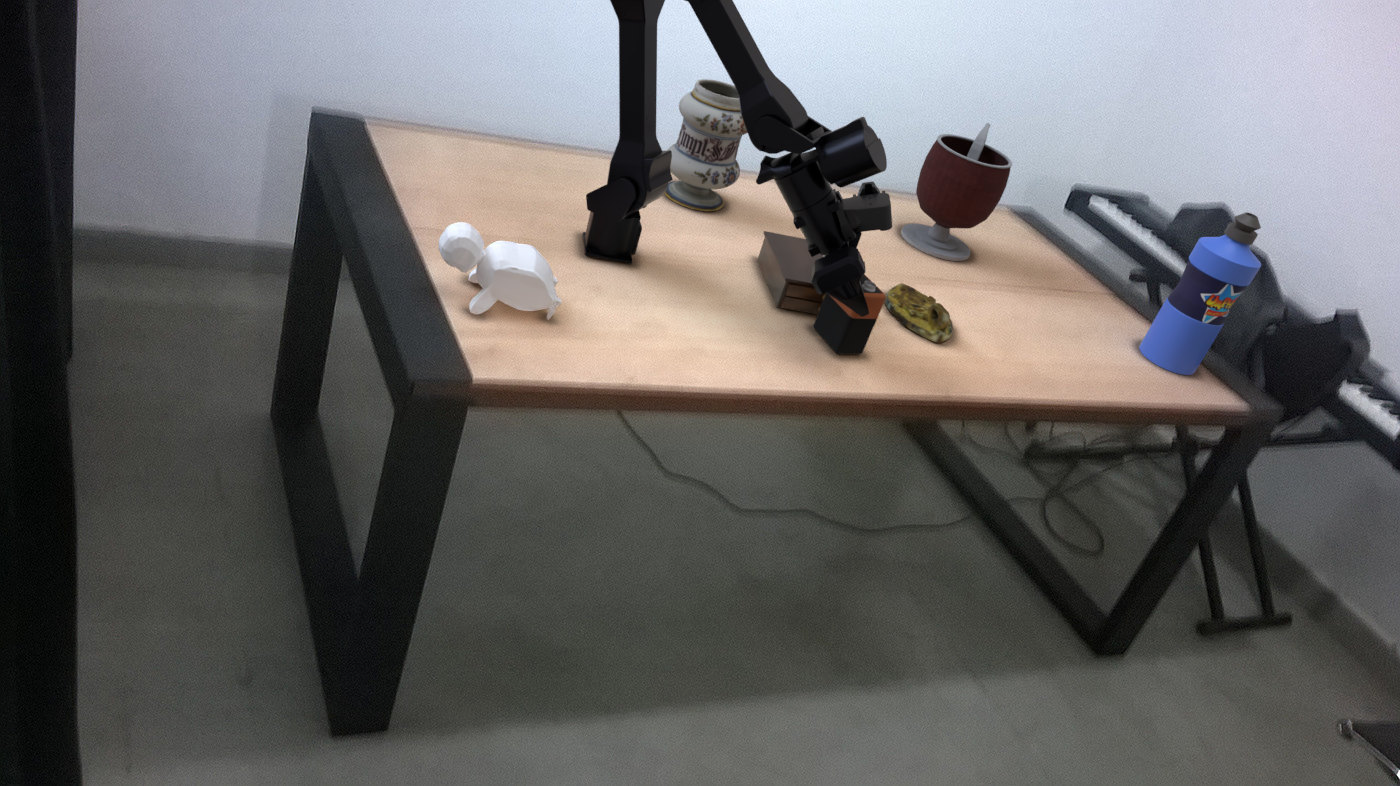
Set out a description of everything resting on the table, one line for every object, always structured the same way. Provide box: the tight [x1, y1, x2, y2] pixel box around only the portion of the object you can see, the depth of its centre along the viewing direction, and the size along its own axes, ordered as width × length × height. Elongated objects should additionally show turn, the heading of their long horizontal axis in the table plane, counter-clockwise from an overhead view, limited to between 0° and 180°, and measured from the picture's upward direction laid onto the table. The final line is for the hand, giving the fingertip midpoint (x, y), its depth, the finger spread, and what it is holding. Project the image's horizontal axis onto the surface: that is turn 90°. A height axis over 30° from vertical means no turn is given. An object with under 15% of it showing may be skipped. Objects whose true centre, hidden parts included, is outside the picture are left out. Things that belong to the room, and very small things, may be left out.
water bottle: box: [1138, 212, 1262, 376], centre depth 161 cm, size 9×9×25 cm
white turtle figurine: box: [438, 221, 562, 321], centre depth 123 cm, size 9×8×15 cm
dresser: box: [756, 230, 826, 315], centre depth 150 cm, size 13×16×5 cm
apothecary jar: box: [663, 78, 748, 212], centre depth 165 cm, size 12×12×18 cm
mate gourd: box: [900, 122, 1013, 262], centre depth 178 cm, size 16×14×20 cm
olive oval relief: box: [884, 283, 954, 343], centre depth 154 cm, size 9×5×15 cm
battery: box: [813, 273, 886, 355], centre depth 138 cm, size 4×7×10 cm, turn 25°
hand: (864, 301), depth 137 cm, fingers closed on battery, 7 cm apart
